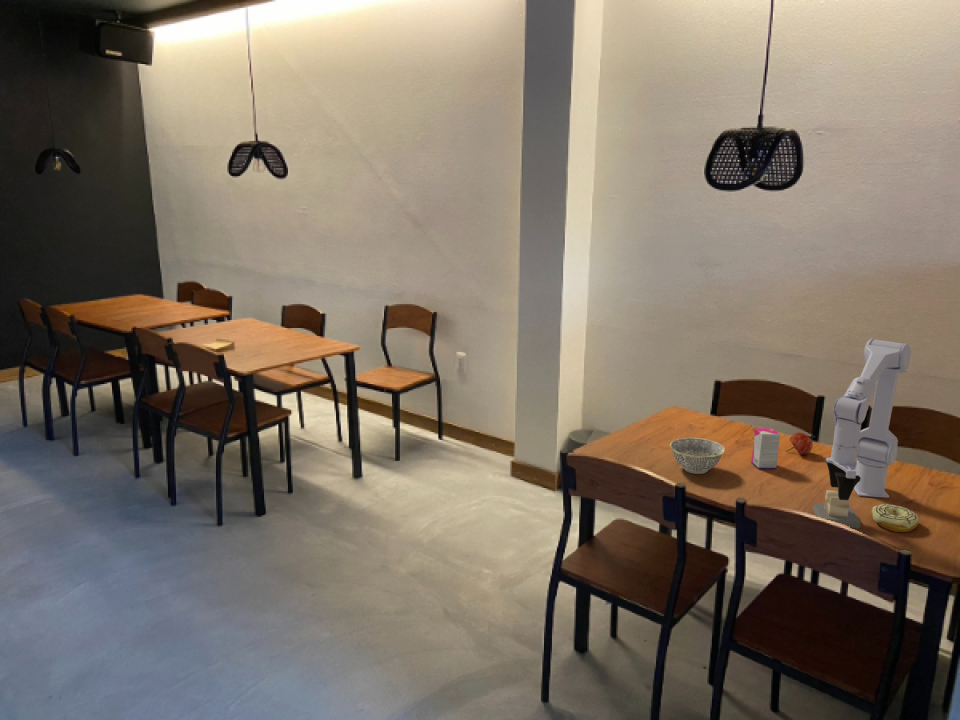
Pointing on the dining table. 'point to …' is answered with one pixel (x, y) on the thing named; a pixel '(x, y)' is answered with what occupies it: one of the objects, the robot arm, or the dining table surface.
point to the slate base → (849, 521)
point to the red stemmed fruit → (801, 443)
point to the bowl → (696, 454)
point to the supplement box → (765, 448)
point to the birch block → (836, 504)
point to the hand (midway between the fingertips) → (839, 493)
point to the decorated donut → (895, 517)
